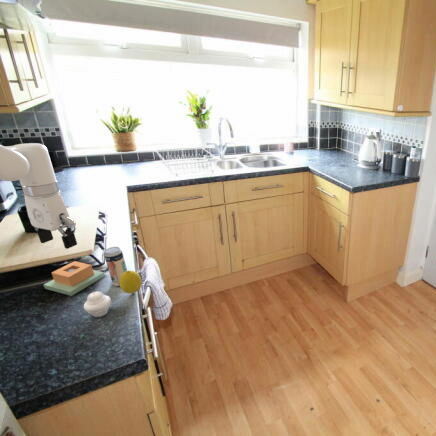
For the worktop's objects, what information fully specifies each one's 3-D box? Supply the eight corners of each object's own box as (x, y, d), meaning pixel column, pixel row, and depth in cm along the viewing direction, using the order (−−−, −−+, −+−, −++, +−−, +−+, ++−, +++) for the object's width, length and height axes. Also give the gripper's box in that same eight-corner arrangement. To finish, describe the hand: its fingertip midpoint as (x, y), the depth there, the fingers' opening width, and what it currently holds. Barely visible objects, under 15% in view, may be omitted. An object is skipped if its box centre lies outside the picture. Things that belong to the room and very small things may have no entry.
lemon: (147, 292, 98) (142, 269, 94) (128, 301, 93) (122, 278, 90) (138, 285, 100) (132, 263, 97) (119, 294, 96) (112, 272, 93)
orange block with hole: (72, 286, 97) (68, 277, 95) (54, 282, 98) (51, 272, 97) (94, 274, 103) (91, 264, 102) (77, 270, 105) (74, 261, 103)
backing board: (71, 296, 95) (66, 283, 93) (44, 288, 98) (39, 276, 96) (105, 276, 105) (101, 264, 103) (79, 270, 107) (76, 258, 106)
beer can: (111, 281, 102) (101, 249, 97) (128, 276, 105) (119, 244, 100) (114, 289, 99) (104, 255, 94) (131, 283, 101) (122, 250, 97)
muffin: (84, 313, 88) (76, 293, 85) (109, 303, 92) (103, 283, 90) (91, 324, 84) (84, 303, 82) (117, 312, 89) (111, 292, 86)
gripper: (4, 189, 87) (24, 244, 94) (49, 197, 83) (67, 254, 89) (34, 182, 94) (51, 234, 101) (78, 189, 89) (93, 243, 96)
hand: (59, 243), depth 95 cm, fingers open, 9 cm apart
